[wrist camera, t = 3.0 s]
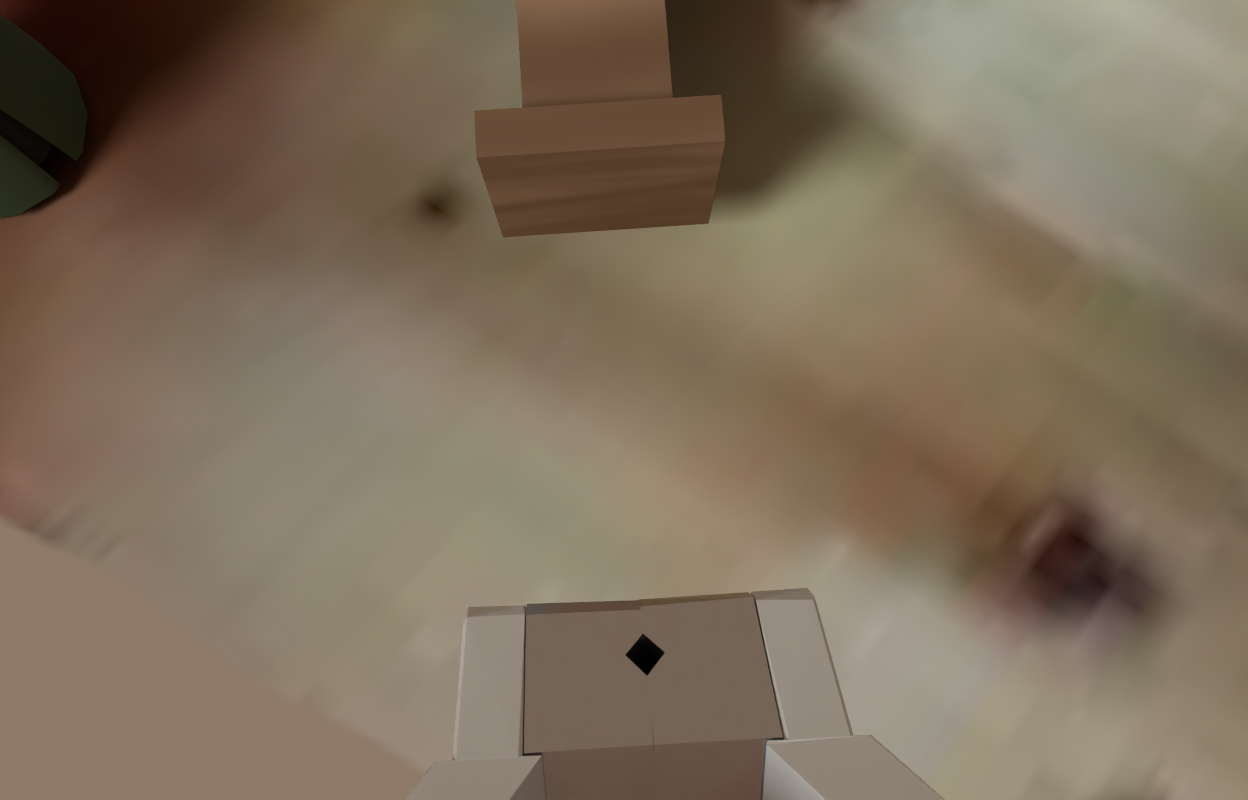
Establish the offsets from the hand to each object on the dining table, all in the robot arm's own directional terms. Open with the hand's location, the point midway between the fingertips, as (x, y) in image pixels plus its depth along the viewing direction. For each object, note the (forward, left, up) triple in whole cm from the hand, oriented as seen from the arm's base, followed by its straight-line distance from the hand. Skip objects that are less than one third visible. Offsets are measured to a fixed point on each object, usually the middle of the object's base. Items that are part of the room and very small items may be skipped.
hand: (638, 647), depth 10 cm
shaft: (+8, -18, -22) cm, 30 cm away
